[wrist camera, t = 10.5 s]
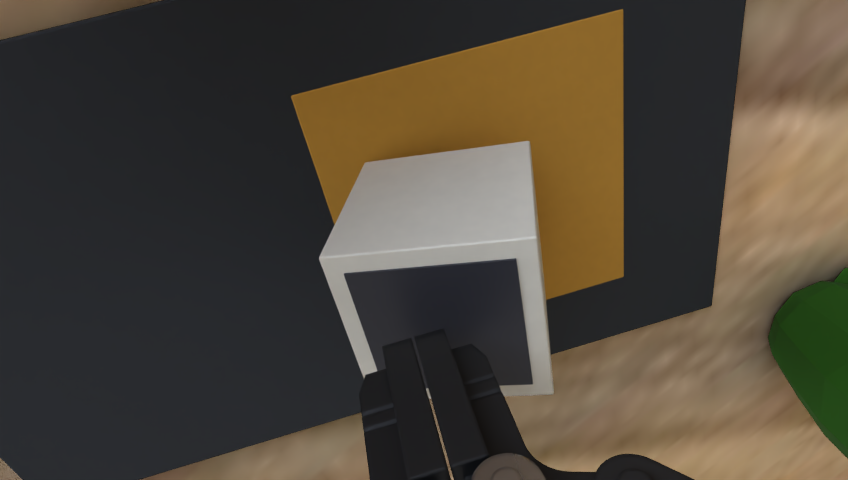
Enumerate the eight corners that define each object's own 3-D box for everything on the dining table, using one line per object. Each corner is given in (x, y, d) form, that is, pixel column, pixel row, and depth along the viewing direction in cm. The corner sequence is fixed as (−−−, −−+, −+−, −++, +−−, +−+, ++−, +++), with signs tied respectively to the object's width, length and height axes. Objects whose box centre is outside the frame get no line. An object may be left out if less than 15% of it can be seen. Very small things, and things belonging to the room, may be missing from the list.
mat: (-317, 117, 13) (-338, 124, 13) (749, -144, 15) (763, -146, 15) (54, 496, 22) (49, 508, 21) (704, 299, 24) (712, 306, 23)
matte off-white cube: (537, 238, 11) (529, 139, 16) (316, 259, 13) (364, 161, 17) (554, 397, 14) (544, 276, 18) (371, 402, 15) (400, 288, 19)
